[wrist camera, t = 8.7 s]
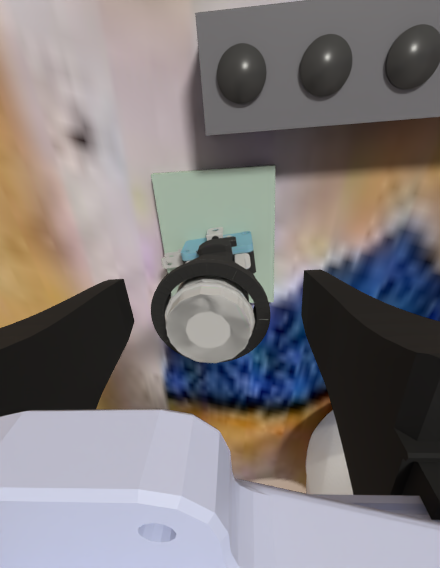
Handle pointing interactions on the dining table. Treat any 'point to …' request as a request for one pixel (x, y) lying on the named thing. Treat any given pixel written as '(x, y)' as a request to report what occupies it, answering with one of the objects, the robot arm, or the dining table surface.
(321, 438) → the white rounded upright lump
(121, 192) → the dining table surface
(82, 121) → the dining table surface
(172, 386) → the dining table surface
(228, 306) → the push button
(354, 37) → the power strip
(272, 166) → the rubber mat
